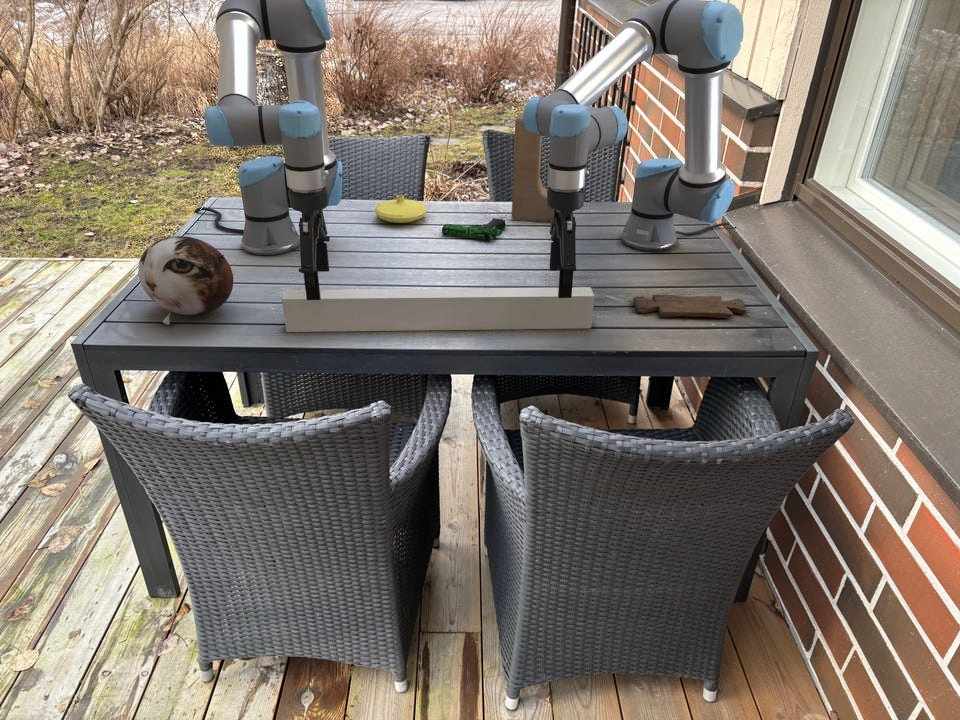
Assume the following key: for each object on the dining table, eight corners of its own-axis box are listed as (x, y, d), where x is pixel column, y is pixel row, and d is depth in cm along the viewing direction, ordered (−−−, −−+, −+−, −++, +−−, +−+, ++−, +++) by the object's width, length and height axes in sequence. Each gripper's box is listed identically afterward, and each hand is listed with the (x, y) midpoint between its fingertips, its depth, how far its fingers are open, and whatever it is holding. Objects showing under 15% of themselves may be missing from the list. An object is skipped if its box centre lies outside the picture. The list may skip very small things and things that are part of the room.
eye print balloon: (100, 300, 154) (135, 215, 156) (167, 323, 170) (198, 245, 171) (166, 325, 144) (203, 233, 145) (230, 347, 159) (263, 264, 161)
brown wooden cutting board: (751, 321, 162) (739, 301, 171) (753, 314, 161) (740, 295, 170) (638, 317, 162) (631, 298, 171) (639, 310, 162) (632, 291, 170)
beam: (286, 332, 154) (281, 299, 150) (290, 322, 158) (285, 289, 154) (591, 328, 158) (594, 296, 154) (587, 318, 162) (590, 287, 158)
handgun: (511, 219, 210) (493, 234, 198) (511, 228, 211) (492, 244, 199) (461, 212, 215) (440, 226, 203) (461, 221, 217) (440, 236, 204)
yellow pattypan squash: (398, 206, 226) (397, 184, 222) (437, 217, 218) (437, 194, 214) (364, 220, 215) (362, 197, 211) (403, 231, 207) (402, 208, 203)
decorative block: (560, 223, 215) (568, 120, 200) (511, 220, 217) (515, 118, 201) (561, 214, 221) (569, 114, 206) (513, 212, 223) (517, 112, 208)
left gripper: (317, 209, 130) (328, 312, 142) (334, 168, 151) (343, 260, 163) (276, 209, 130) (290, 312, 141) (298, 167, 151) (309, 260, 162)
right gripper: (596, 208, 133) (587, 309, 144) (574, 168, 154) (568, 259, 165) (556, 208, 132) (550, 310, 144) (540, 168, 154) (536, 259, 165)
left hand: (318, 284), depth 152 cm, fingers open, 13 cm apart
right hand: (560, 283), depth 154 cm, fingers open, 13 cm apart
